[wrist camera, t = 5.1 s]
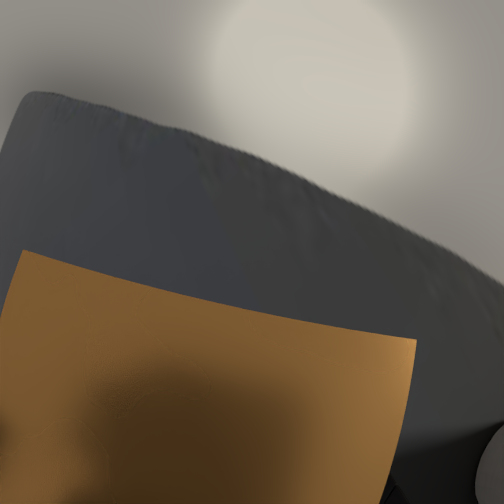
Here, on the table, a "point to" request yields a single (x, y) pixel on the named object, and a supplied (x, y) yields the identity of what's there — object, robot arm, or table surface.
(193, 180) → the table surface
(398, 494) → the robot arm
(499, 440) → the potted plant
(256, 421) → the aluminium block
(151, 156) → the table surface
